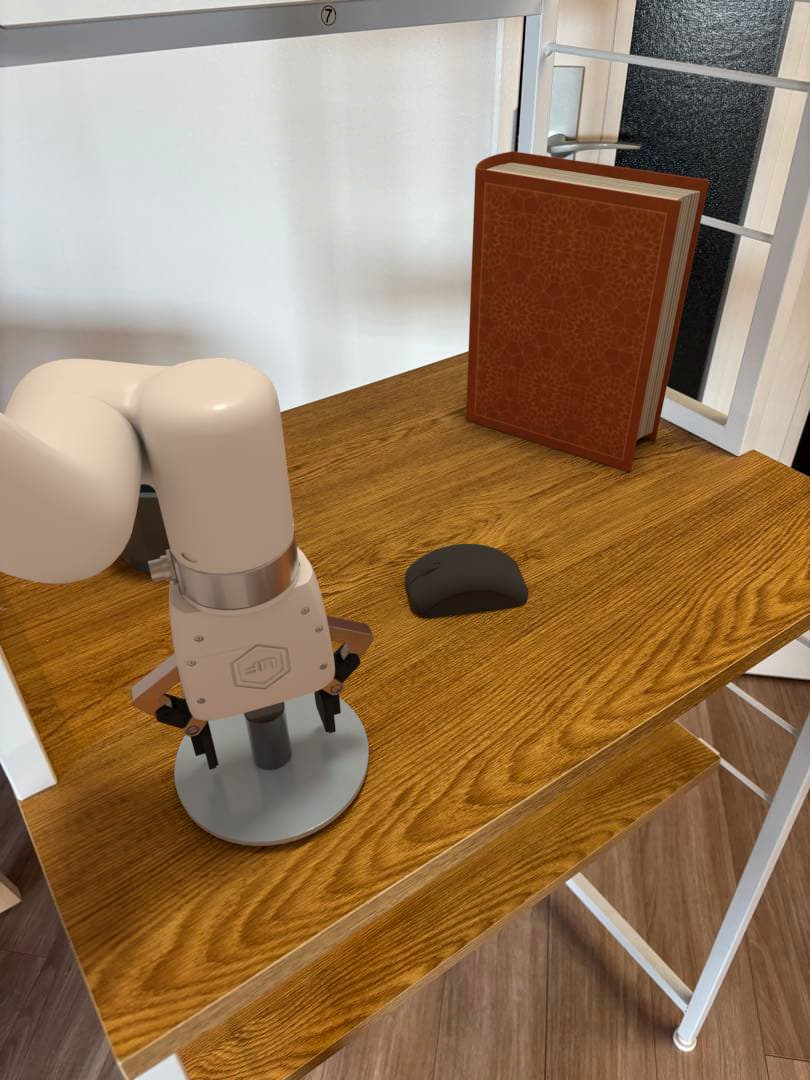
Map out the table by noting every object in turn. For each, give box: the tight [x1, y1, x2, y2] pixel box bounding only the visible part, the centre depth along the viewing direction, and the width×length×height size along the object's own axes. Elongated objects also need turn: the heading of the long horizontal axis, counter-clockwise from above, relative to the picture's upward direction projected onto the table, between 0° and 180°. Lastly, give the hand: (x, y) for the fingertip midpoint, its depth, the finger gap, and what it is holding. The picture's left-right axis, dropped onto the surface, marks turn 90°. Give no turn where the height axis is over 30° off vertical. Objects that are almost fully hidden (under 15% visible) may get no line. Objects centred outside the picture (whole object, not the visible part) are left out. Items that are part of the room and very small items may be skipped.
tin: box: [120, 484, 170, 574], centre depth 84 cm, size 14×14×10 cm
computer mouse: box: [404, 543, 529, 618], centre depth 79 cm, size 6×11×4 cm, turn 99°
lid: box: [173, 692, 370, 847], centre depth 62 cm, size 15×15×7 cm
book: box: [465, 150, 710, 473], centre depth 94 cm, size 23×8×30 cm, turn 56°
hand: (269, 735), depth 62 cm, fingers open, 8 cm apart
